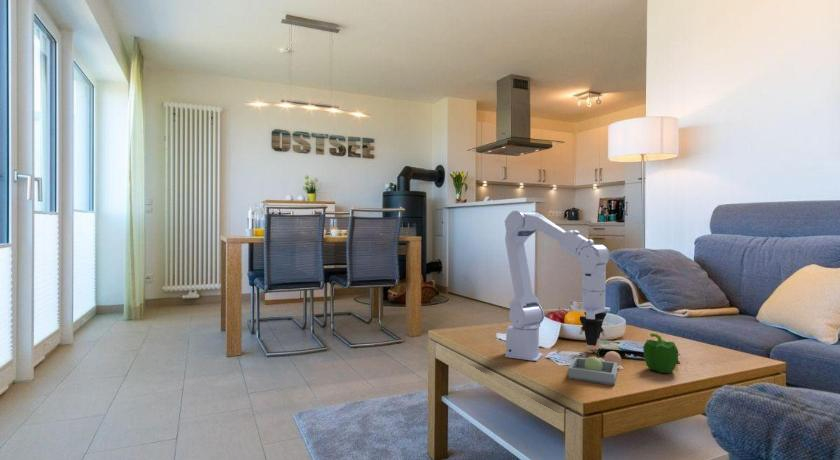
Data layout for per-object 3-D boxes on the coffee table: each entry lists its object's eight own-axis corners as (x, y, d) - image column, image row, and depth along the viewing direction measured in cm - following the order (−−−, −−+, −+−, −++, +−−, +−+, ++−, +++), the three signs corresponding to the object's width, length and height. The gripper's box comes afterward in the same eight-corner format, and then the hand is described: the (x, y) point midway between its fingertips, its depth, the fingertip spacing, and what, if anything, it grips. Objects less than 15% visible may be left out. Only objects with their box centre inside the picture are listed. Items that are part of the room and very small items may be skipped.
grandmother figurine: (602, 350, 144) (602, 310, 144) (606, 353, 140) (606, 313, 140) (577, 349, 145) (578, 310, 145) (580, 353, 141) (581, 312, 141)
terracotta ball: (603, 368, 126) (603, 352, 126) (604, 364, 130) (605, 348, 130) (620, 370, 124) (620, 354, 124) (621, 366, 128) (621, 350, 128)
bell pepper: (684, 372, 123) (684, 335, 123) (667, 377, 118) (668, 339, 118) (654, 364, 130) (654, 329, 130) (637, 369, 125) (637, 333, 125)
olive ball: (583, 374, 119) (583, 358, 118) (586, 369, 122) (586, 353, 122) (601, 377, 116) (601, 361, 116) (603, 372, 120) (603, 356, 120)
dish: (568, 378, 117) (568, 368, 117) (574, 367, 127) (574, 357, 127) (614, 385, 112) (614, 374, 112) (617, 373, 122) (617, 362, 122)
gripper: (607, 295, 111) (607, 350, 111) (612, 288, 124) (611, 337, 124) (577, 293, 114) (577, 346, 114) (585, 286, 127) (584, 334, 127)
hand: (593, 341), depth 119 cm, fingers open, 7 cm apart
